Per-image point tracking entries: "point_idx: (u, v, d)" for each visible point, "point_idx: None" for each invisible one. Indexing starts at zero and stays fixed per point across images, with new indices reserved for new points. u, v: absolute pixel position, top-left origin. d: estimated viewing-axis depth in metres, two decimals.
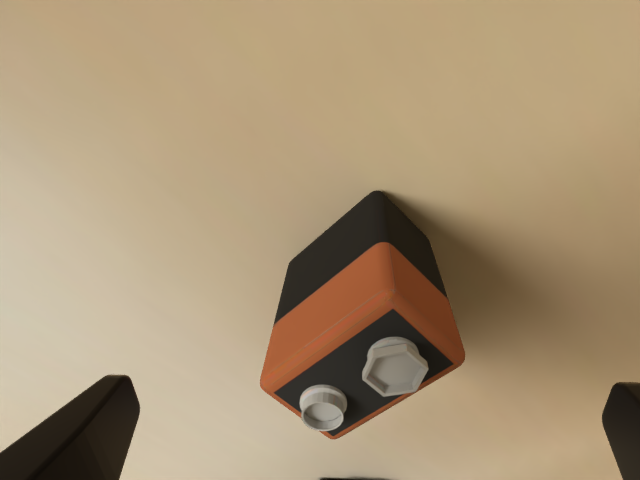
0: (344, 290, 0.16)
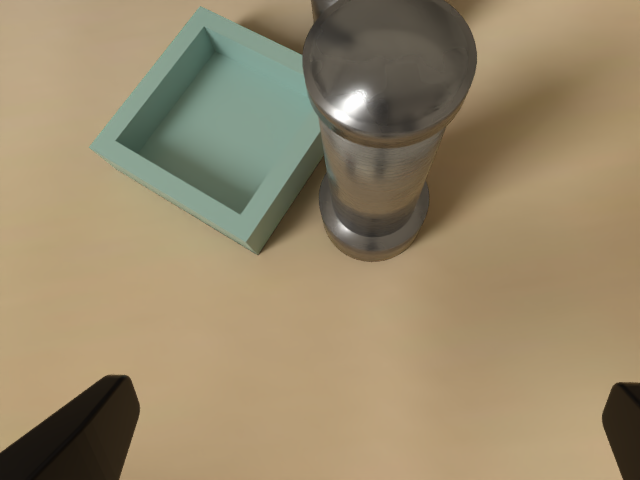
0: None
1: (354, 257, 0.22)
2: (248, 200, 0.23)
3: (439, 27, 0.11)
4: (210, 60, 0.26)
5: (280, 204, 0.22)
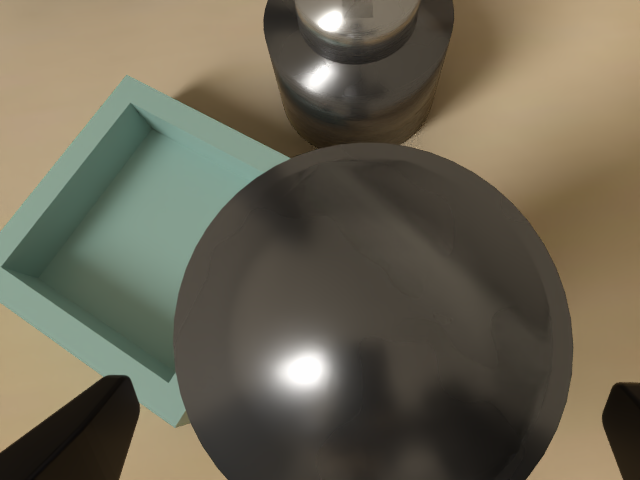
0: None
1: None
2: None
3: (479, 247, 0.05)
4: (145, 141, 0.20)
5: None
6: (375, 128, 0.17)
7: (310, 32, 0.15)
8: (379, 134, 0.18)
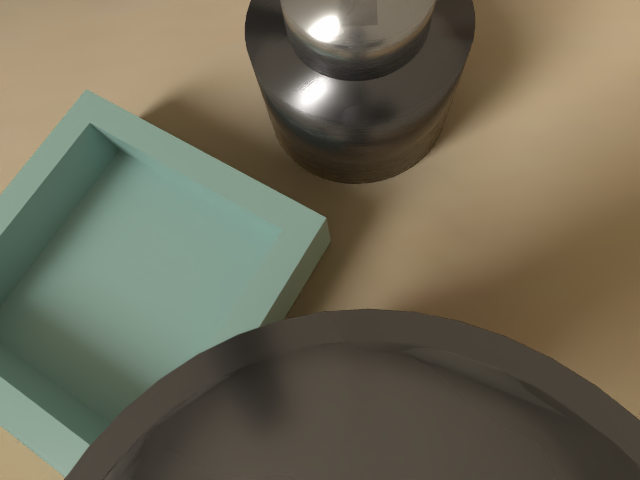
0: None
1: None
2: None
3: None
4: (111, 165, 0.17)
5: None
6: (378, 154, 0.14)
7: (300, 42, 0.12)
8: (383, 160, 0.15)
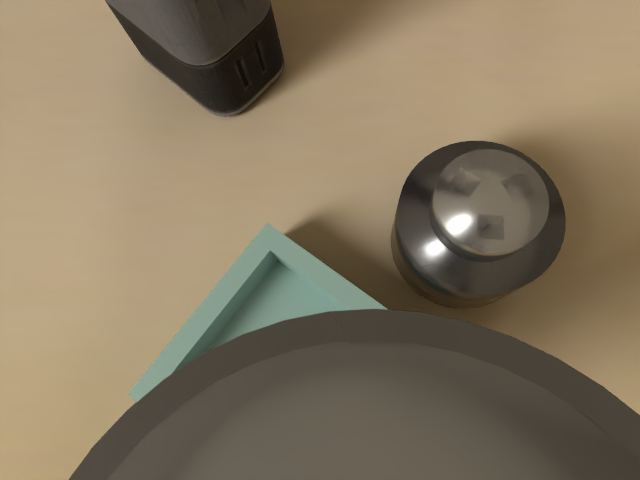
0: None
1: None
2: None
3: None
4: (271, 272, 0.23)
5: None
6: (480, 301, 0.20)
7: (444, 236, 0.18)
8: (482, 302, 0.20)
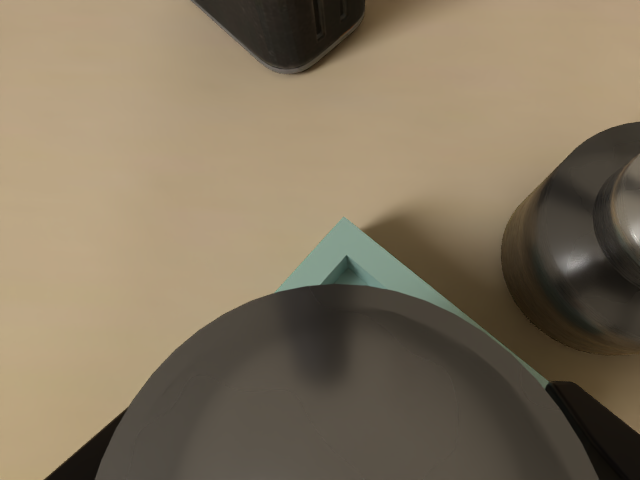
0: None
1: None
2: None
3: (494, 446, 0.04)
4: (338, 282, 0.17)
5: None
6: None
7: (630, 258, 0.12)
8: None
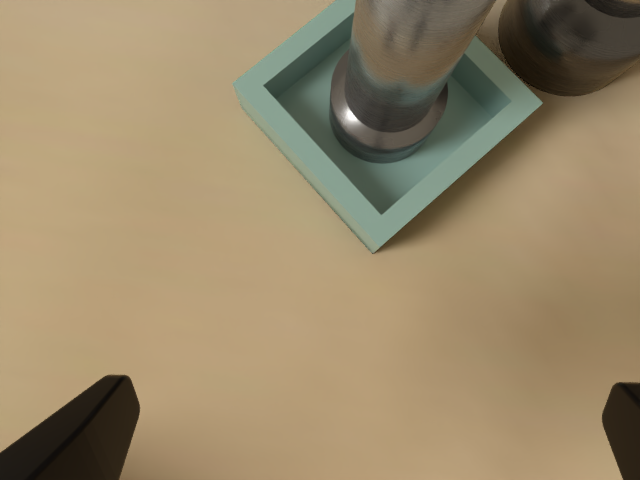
0: None
1: (357, 155, 0.21)
2: (380, 193, 0.21)
3: None
4: None
5: (418, 212, 0.20)
6: (586, 73, 0.20)
7: None
8: (583, 79, 0.21)
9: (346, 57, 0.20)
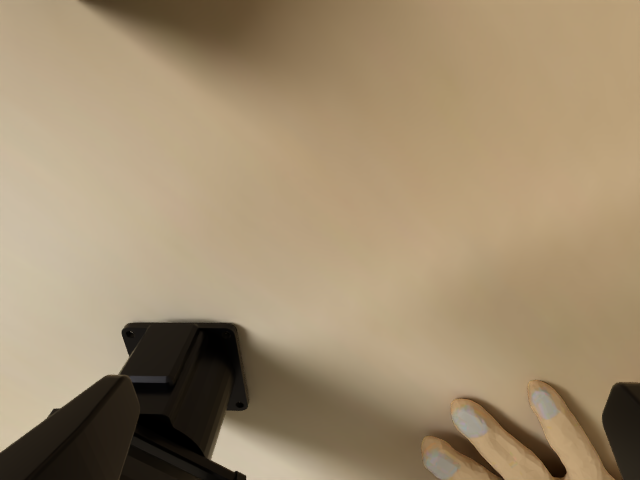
0: None
1: None
2: None
3: None
4: None
5: None
6: None
7: None
8: None
9: None
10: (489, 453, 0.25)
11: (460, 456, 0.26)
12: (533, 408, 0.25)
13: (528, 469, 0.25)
